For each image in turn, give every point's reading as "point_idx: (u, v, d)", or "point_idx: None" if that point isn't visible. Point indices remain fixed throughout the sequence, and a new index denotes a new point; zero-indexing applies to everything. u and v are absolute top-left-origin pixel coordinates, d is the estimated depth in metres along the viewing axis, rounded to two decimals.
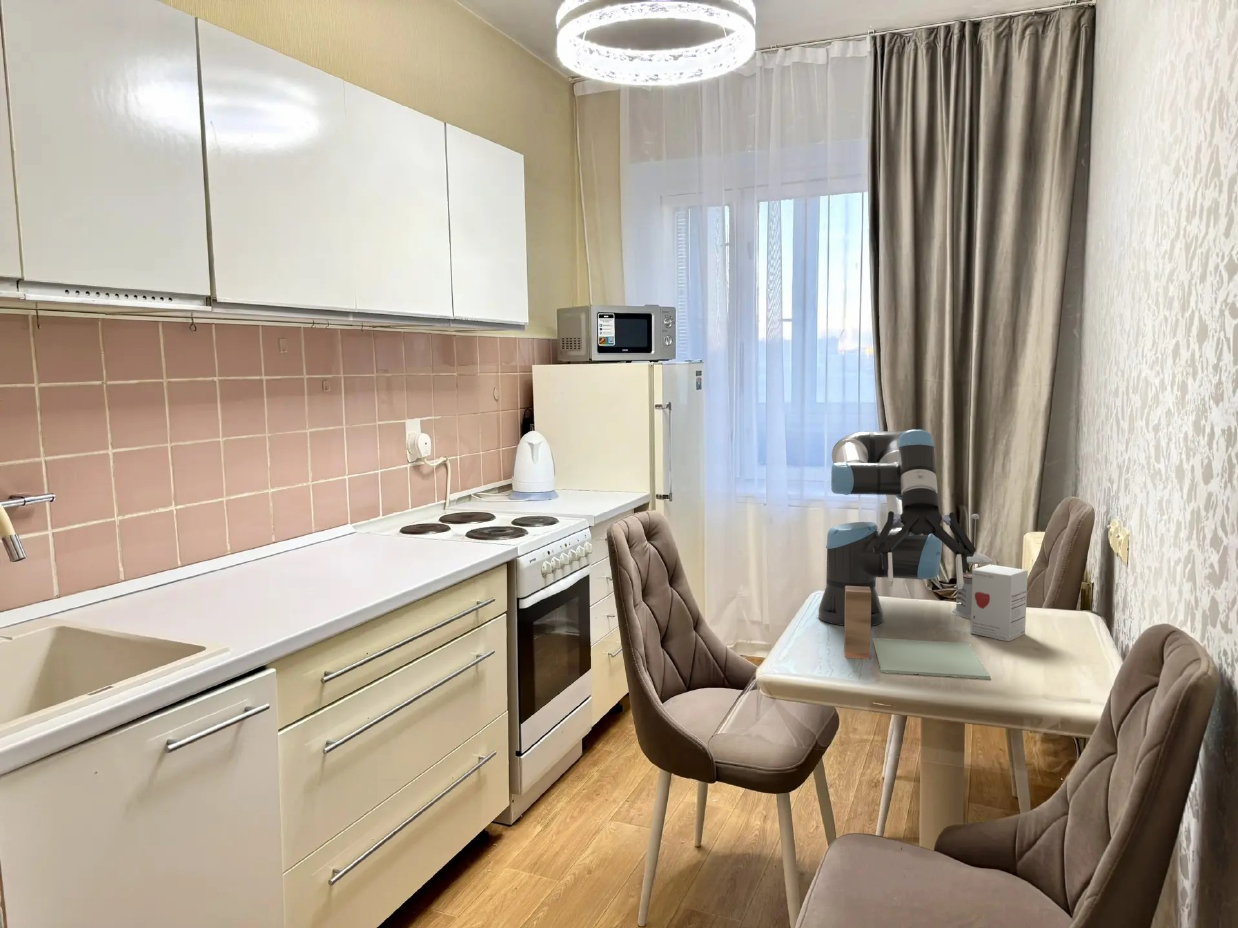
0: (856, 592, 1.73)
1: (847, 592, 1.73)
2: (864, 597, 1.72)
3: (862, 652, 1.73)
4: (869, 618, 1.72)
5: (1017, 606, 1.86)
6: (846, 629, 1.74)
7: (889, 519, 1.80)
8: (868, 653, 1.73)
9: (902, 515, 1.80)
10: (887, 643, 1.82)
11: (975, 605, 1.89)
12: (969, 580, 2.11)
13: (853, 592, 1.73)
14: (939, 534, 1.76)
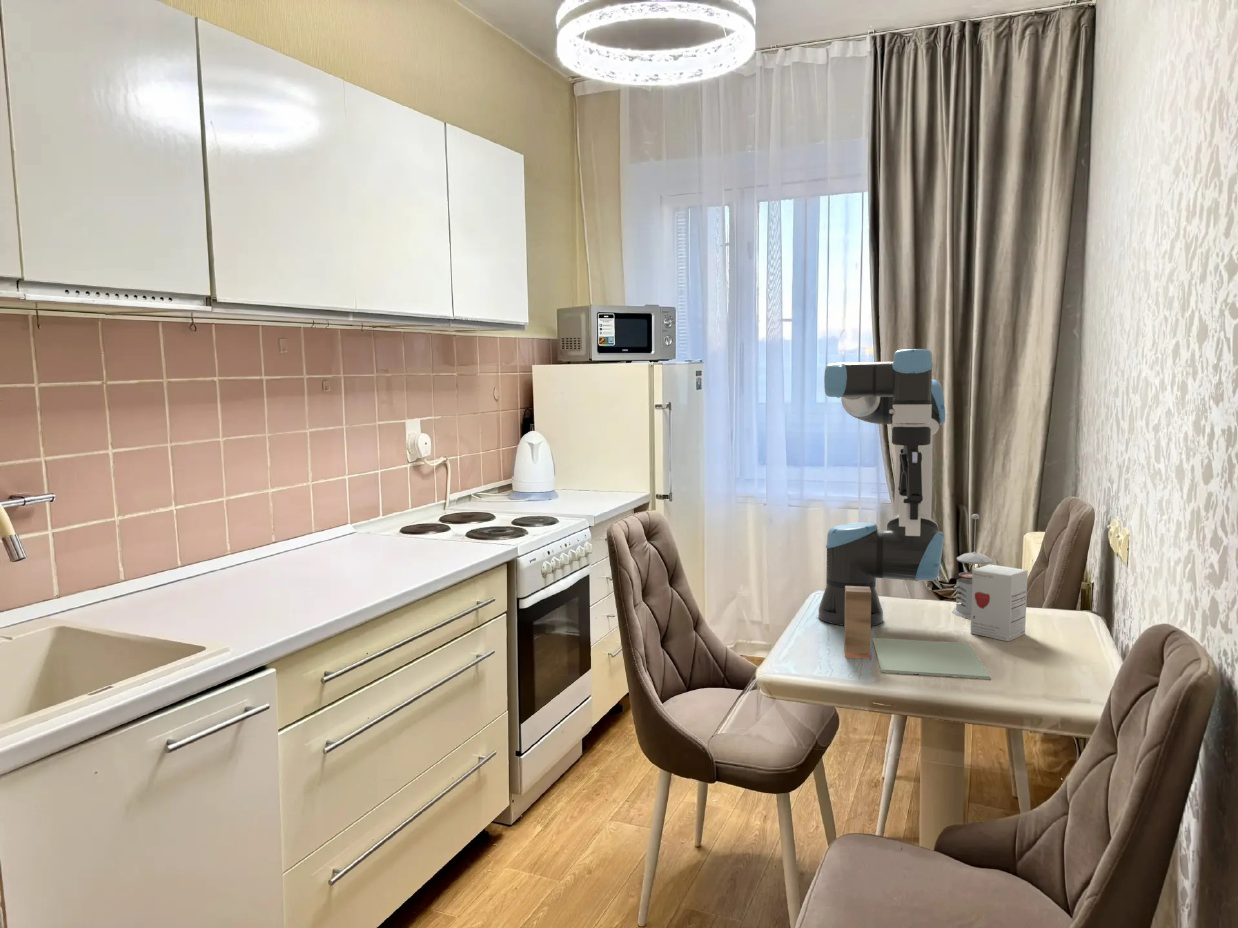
0: (856, 592, 1.73)
1: (847, 592, 1.73)
2: (864, 597, 1.72)
3: (862, 652, 1.73)
4: (869, 618, 1.72)
5: (1017, 606, 1.86)
6: (846, 629, 1.74)
7: None
8: (868, 653, 1.73)
9: None
10: (887, 643, 1.82)
11: (975, 605, 1.89)
12: (969, 580, 2.11)
13: (853, 592, 1.73)
14: None
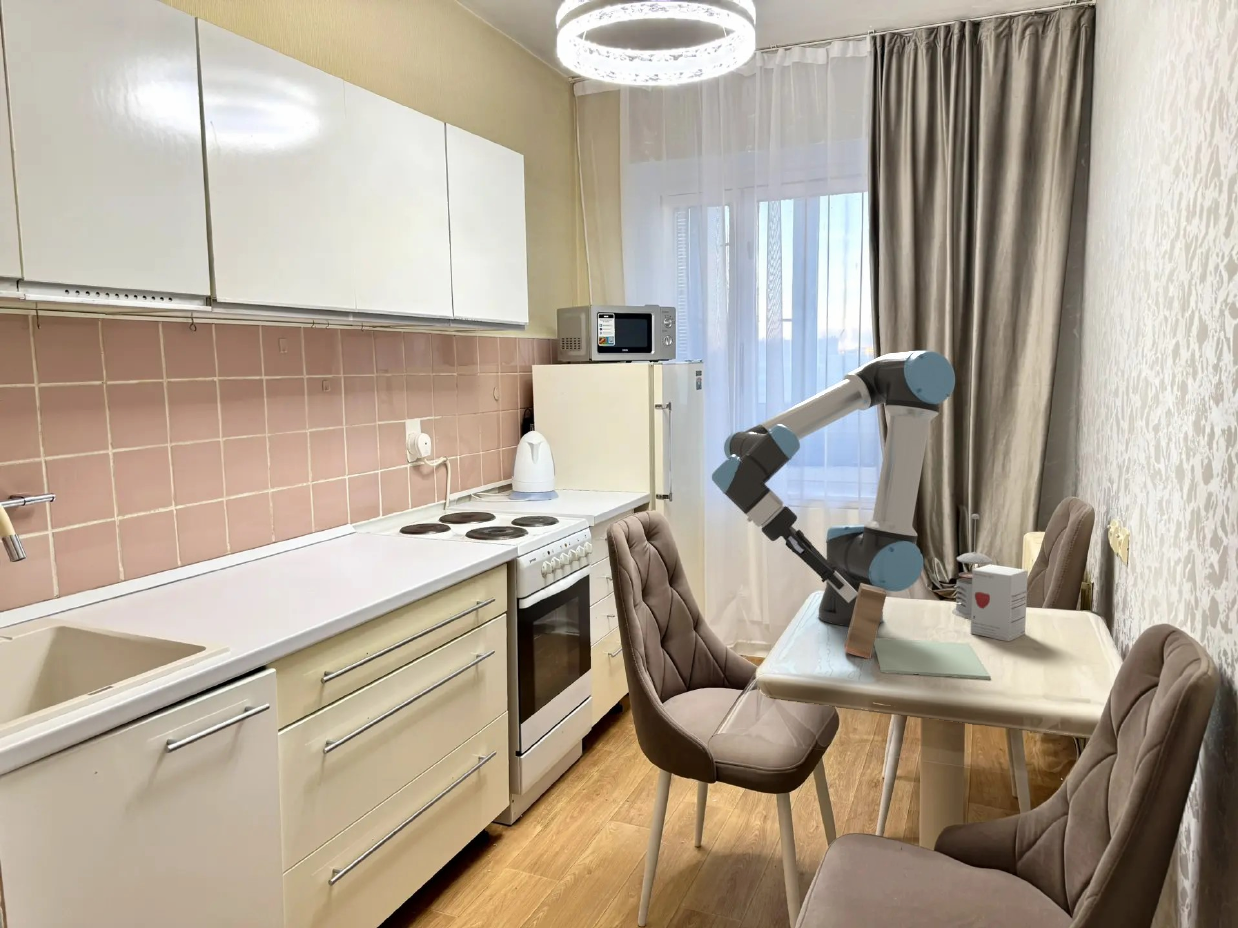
0: (871, 591, 1.72)
1: (862, 589, 1.72)
2: (878, 598, 1.72)
3: (864, 650, 1.73)
4: (878, 619, 1.72)
5: (1017, 606, 1.86)
6: (853, 625, 1.73)
7: None
8: (869, 653, 1.73)
9: None
10: (887, 643, 1.82)
11: (975, 605, 1.89)
12: (969, 580, 2.11)
13: (868, 591, 1.72)
14: None
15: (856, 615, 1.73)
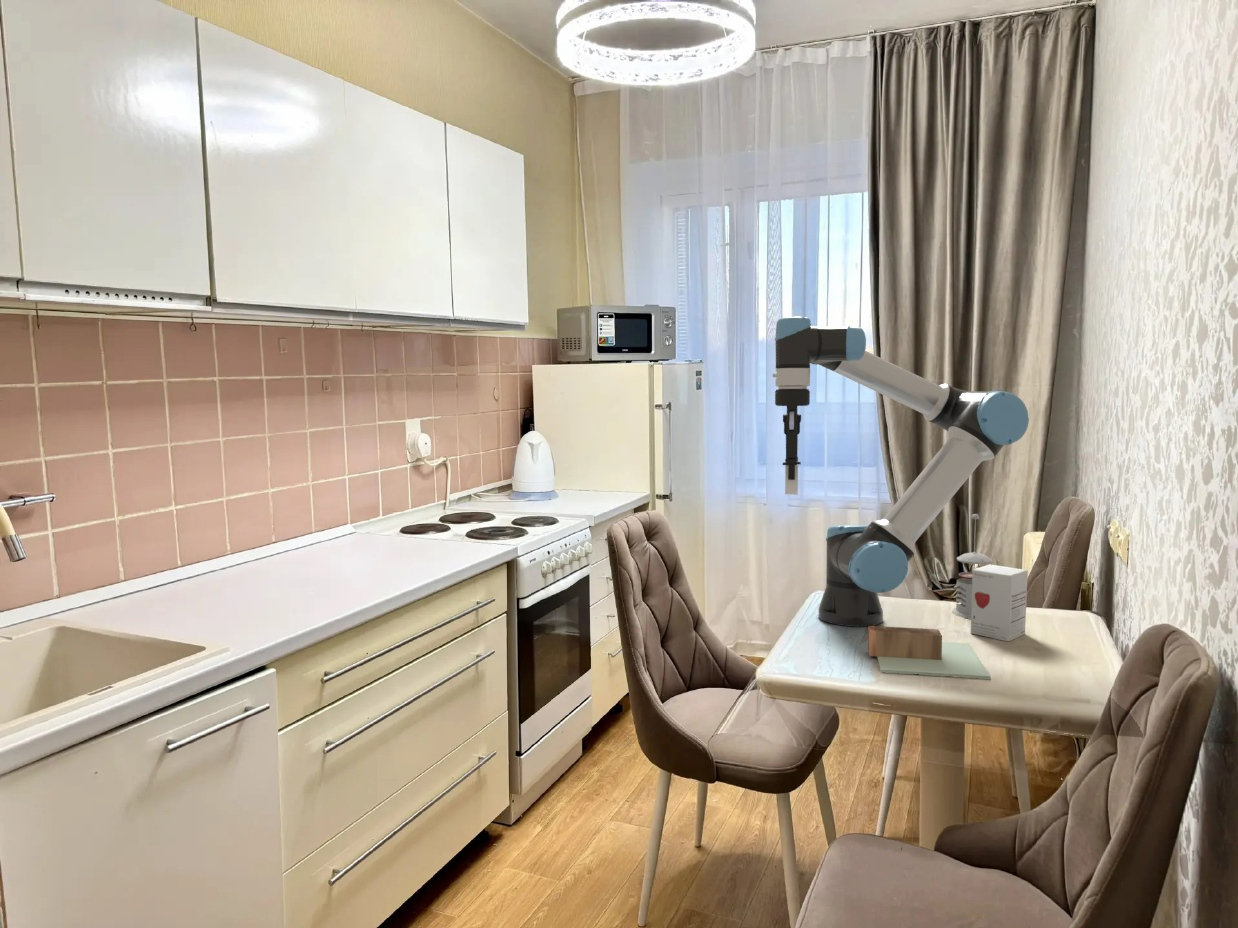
0: (940, 645, 1.70)
1: (940, 637, 1.70)
2: (935, 653, 1.70)
3: (876, 649, 1.73)
4: (912, 657, 1.71)
5: (1017, 606, 1.86)
6: (900, 634, 1.71)
7: None
8: (875, 654, 1.73)
9: None
10: None
11: (975, 605, 1.89)
12: (969, 580, 2.11)
13: (940, 642, 1.70)
14: None
15: (911, 635, 1.71)
